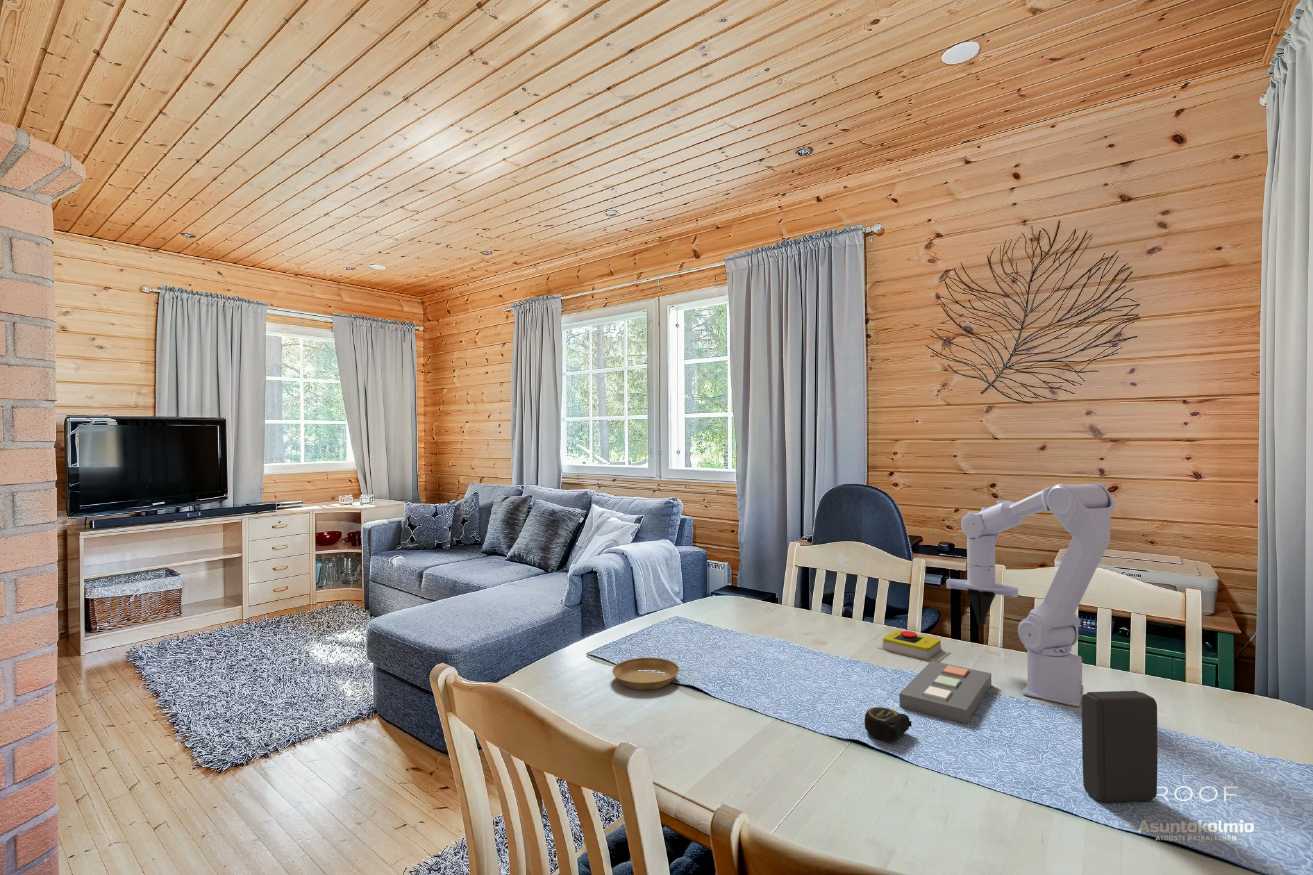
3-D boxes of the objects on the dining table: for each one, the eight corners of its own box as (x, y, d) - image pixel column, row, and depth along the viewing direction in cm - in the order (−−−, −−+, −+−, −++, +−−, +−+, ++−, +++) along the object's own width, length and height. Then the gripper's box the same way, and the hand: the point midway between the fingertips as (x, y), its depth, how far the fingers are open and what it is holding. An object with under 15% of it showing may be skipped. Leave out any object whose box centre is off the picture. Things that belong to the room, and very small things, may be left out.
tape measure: (895, 748, 106) (894, 726, 106) (857, 735, 110) (857, 714, 110) (912, 734, 110) (911, 713, 110) (875, 722, 115) (875, 702, 115)
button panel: (991, 684, 131) (991, 673, 131) (966, 723, 114) (966, 709, 114) (931, 671, 139) (931, 660, 139) (899, 706, 122) (899, 693, 121)
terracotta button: (968, 681, 132) (968, 669, 132) (963, 687, 129) (963, 675, 129) (948, 676, 135) (948, 665, 135) (943, 682, 131) (943, 670, 131)
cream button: (951, 703, 121) (951, 690, 121) (945, 711, 118) (945, 697, 118) (929, 698, 124) (929, 685, 124) (923, 705, 121) (923, 692, 121)
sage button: (960, 691, 127) (960, 679, 127) (955, 698, 123) (955, 686, 123) (939, 687, 129) (939, 675, 129) (934, 693, 126) (933, 681, 126)
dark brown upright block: (1139, 787, 93) (1138, 687, 93) (1161, 803, 89) (1160, 699, 89) (1079, 789, 93) (1078, 689, 93) (1099, 805, 89) (1098, 700, 89)
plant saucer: (603, 691, 131) (603, 679, 131) (623, 666, 145) (623, 655, 145) (671, 697, 127) (671, 685, 127) (685, 670, 142) (685, 659, 142)
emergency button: (890, 623, 161) (951, 636, 151) (890, 640, 161) (951, 653, 151) (875, 632, 155) (937, 645, 144) (875, 649, 155) (937, 664, 144)
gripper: (1020, 565, 141) (1020, 624, 141) (951, 557, 150) (951, 613, 150) (1014, 571, 136) (1015, 633, 136) (943, 562, 145) (944, 621, 145)
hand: (981, 623), depth 143 cm, fingers closed
